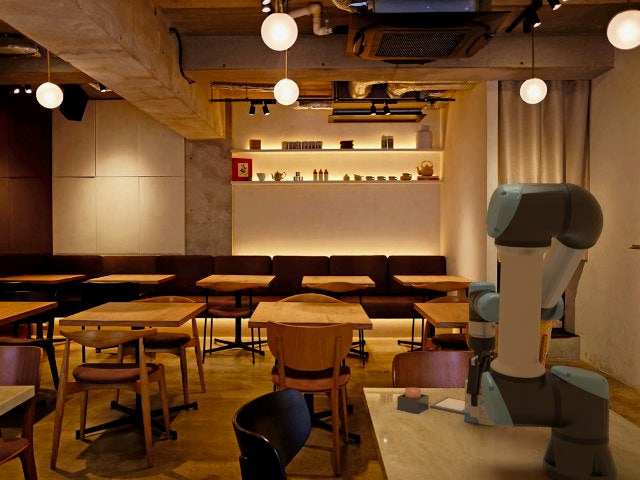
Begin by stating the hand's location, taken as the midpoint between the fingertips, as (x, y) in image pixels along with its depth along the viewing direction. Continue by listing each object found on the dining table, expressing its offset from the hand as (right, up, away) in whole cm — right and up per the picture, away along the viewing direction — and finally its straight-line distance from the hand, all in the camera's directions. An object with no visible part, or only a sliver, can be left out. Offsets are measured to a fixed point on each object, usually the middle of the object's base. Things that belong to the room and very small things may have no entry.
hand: (481, 412), depth 156 cm
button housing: (-18, -2, +10) cm, 21 cm away
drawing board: (-5, -2, +13) cm, 14 cm away
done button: (-18, 0, +10) cm, 21 cm away
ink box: (0, -2, 0) cm, 2 cm away
